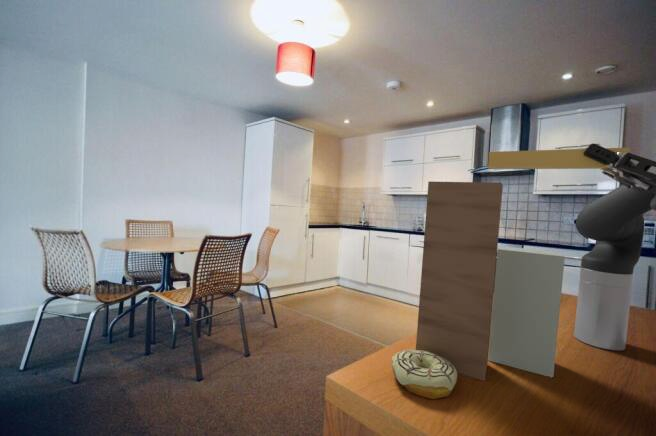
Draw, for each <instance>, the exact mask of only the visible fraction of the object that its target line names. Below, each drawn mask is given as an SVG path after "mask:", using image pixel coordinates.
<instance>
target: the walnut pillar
mask: <svg viewBox="0 0 656 436" xmlns="http://www.w3.org/2000/svg"><path fill="white" fill-rule="evenodd" d="M427 185H428V186H427V196H426V206H425V207H426V211H425V221H424V235H423V249H422V251H423V252H422V263H421V275H420V287H419V299H418V300H419V301H418V312H417V313H418V315H417V330H416V339H415V340H416V342H415V350H419V351H420V350H421V351H428V352H431V353H434V354H437V355H439V356H441V357H443V358H445V359H446V360H448V361H449V362H450V363H451V364H452V365H453V366H454V367H455V369H456V371H457V374H460V375H464V376H466V377H469V378H472V379H476V380H480V381H482V382H483V381H484V382H485V381H486V376H487V368H488V355H489V343H490V332H491V320H492V308H493V297H494V285H495V274H496V262H497V250H498V247H499V245H498V244H499V235H500V221H501V213H502V211H501V209H502V200H503V188H504V187H503V182H483V181H481V182H479V181H478V182H477V181H472V182H471V181H431V180H430V181H428V183H427Z"/></svg>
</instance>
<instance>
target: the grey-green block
mask: <svg viewBox="0 0 656 436" xmlns="http://www.w3.org/2000/svg"><path fill="white" fill-rule="evenodd" d="M565 258H566V256H565V255H563V254H562V253H561V252H559V251H551V250H543V249H534V248H533V249H532V248H525V247H515V246H513V247H512V246H503V245H498V247H497V259H496V270H495V282H494V294H493V305H492V317H491V329H490V340H489V352H488V361H489V362H493V363H496V364H500V365H504V366H508V367H512V368H515V369H519V370H523V371H527V372H530V373H532V374H533V373H534V374H537V375H541V376H545V377H548V376H549V377H548V378H552V377H553V378H554V374H555V363H556V354H557V344H558V343H557V342H558V333H559V322H560V311H561V310H560V308H561V300H562V290H563V289H562V288H563V281H564V280H563V279H564V268H565Z"/></svg>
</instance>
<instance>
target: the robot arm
mask: <svg viewBox="0 0 656 436" xmlns="http://www.w3.org/2000/svg"><path fill="white" fill-rule="evenodd" d="M606 148H607V147H603V146H602V145H599V144H596V143H591V144H589V145H588V147H585V149H586V150H585V152H584V156H586V157H589V158H591V159H593V160H595V161H597V162H600V163H602V164H604V165H606V164H607V163H608V164H607V166H608V168H611V169H600V170H601V173H602V174H603V175H604V176H607V177H609V178H611V179H613V180H615V181H616V182H618V183H620V184H621V185H620V186H618V187H617V188H614V189H612V190H610V191H609V192H607V193H605V194H604V195H602V196H600V197H599V198H596V199H595V200H593V201H591V202H590V203H588V204H587V205H586V206H584V207H582V209H581V210H580V211H579V213H578V215H577V217H576V221H575V226H576V230H577V231H578V233H579V234H580V235H582V236H583V237H585V239H589V240H593V241H595V243H594V246H593V249H591V251H589V252H587V253H586V254H584V255H582V257H581V261H580V262H581V263H580V271H579V272H580V273H579V280H578V281H579V282H578V293H577V302H576V303H577V304H576V312H575V323H574V330H573V332H574V333H573V336H574V338H575V339H577V340H578V341H580V342H582V343H584V344H587V345H590V346H593V347H596V348H600V349H605V350H608V351H609V350H610V351H624V350H625V349H626V342H627V335H628V327H629V325H628V324H629V317H630V307H631V299H632V298H631V295H632V286H633V278H634V276H633V275H634V268H635V266H636V265H637V264H638V262H639V261H640V256H641V252H642V248H643V247H642V246H643V242H644V241H643V239H644V234H645V218H644V215H645V214H646V213H648V212H649V211H652V210H654V211H656V161H655V160H652V159H650V158H646V157H643V156H640V155H637V154H633V153H631V152H630V153H627V152H625V153H624V154H623V153H619V152H617V154H615V152H613V151H611V150H608V149H606ZM627 163H628V165H627V166H626V164H627Z"/></svg>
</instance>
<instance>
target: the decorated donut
mask: <svg viewBox="0 0 656 436" xmlns="http://www.w3.org/2000/svg"><path fill="white" fill-rule="evenodd" d="M391 368H392V373H393V375H394V377H395V378H396V380H397V382H398V383H400V384H401V386H403V387H404V388H405V389H406V390H407V391H408V392H409V393H412V394H414V395H416V396H420V397H423V398H425V399H430V400H436V399H440V398H441V399H442V398H446V397H449V396H450V394H451V393H452V392H453V390H454V388H455V387H456V384H457V381H458V373H457V371H456V369H455V367H454V366H453V365H452V364H451V363H450V362H449V361H448V360H446V359H445V358H443V357H441V356H439V355H437V354H434V353H431V352H428V351H421V350H420V351H419V350H416V349H405V350H401V351H398V352H397V353H396V354H394V355H393V356H392V358H391Z"/></svg>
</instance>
